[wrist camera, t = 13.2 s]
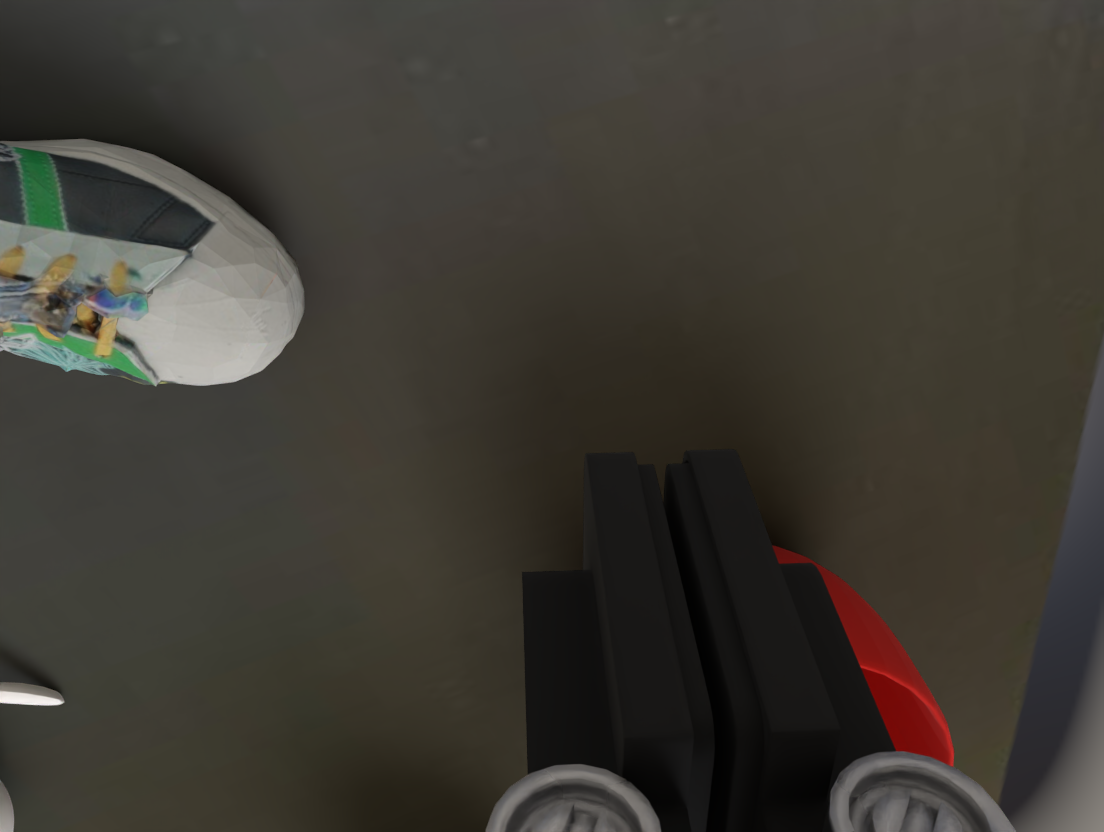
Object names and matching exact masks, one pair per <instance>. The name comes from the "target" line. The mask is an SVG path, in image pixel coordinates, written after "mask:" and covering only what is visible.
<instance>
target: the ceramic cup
mask: <svg viewBox="0 0 1104 832" xmlns="http://www.w3.org/2000/svg"><path fill="white" fill-rule="evenodd" d="M772 546H773V545H772ZM773 549H774V552H775V554H776V557H777V560H778V562H779V564H783V563H812V564H814V565H815V566H817V568H818V570H819V572H820V573H821V575H822V577H823V580H824V582H825V584H826V587H827V589H828V591H829V594H830V596H831V598H832V601H833V603H834V606H835V608H836V610H837V613H838V615H839V617H840V620H841V622H842V624H843V627H844V629H845V631H846V634H847V636H848V638H849V641H850V643H851V646H852V648H853V650H854V653H855V655H856V657H857V660H858V662H859V664H860V667H861V669H862V671H863V674H864V676H865V679H866V681H867V683H868V686H869V688H870V690H871V693H872V695H873V697H874V700H875V702H876V704H877V707H878V709H879V712H880V714H881V716H882V719H883V721H884V723H885V726H886V728H887V730H888V733H889V735H890V737H891V740H892V742H893V745H894V747H895V749H896V752H897V751H904V752H909V753H914V754H919V755H924V756H929V757H932V758H934V759H936V760H939V761H941V762H943V763H945V764H948V765H950V766H952V767H953V761H954V749H953V745H952V741H951V737H950V733H949V729H948V725H947V722H946V719H945V717H944V715H943V713H942V711H941V709H940V707H939V706H938V704H937V702H936V700H935V699H934V697H933V695H932V694H931V692H930V690H929V689H928V687H927V685H926V684H925V682H924V680H923V679H922V677H921V675H920V674H919V672H918V671H917V669H916V667H915V666H914V664H913V662H912V661H911V659H910V658H909V656H908V655H907V653H906V651H905V650H904V648H903V647H902V645H901V644H900V643H899V641H898V640H897V638H896V637H895V635H894V634H893V633H892V631H891V630H890V629H889V627H888V626H887V625H886V623H885V622H884V621H883V620H882V618H881V617H880V616H879V615H878V614H877V613H876V612H875V610H874V609H873V608H872V607H871V606H870V605H869V604H868V603H867V602H866V601H865V600H864V599H863V598H862V597H861V596H859V595H858V594H857V593H856V592H855V591H854V590H853V589H852V588H851V587H850V586H849V585H848V584H847V583H846V582H845V581H843V580H842V579H841V578H839V577H838V576H837V575H835V574H834V573H832V572H830V571H829V570H827V569H825V568H824V567H822V566H820V565H819V564H817V563H815V562H814V561H812V560H810V559H809V558H807V557H805V556H802V555H800V554H797V553H794V552H792V551H789V550H786V549H783V548H780V547H777V546H773Z"/></svg>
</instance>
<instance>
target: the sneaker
mask: <svg viewBox="0 0 1104 832" xmlns="http://www.w3.org/2000/svg"><path fill="white" fill-rule="evenodd" d="M304 311H305V304H304V288H303V284H302V281H301V277H300V274H299V271H298V267H297V264H296V261H295V259H294V258H293V257H292V256H291V255H290V253H289V252H288V251H287V250H286V248H285V247H284V246H283V245H282V244H281V242H280V241H279V240H278V239H277V238H276V236H275V235H274V234H273V233H272V232H271V231H270V230H269V229H267V228H266V227H265V226H264V225H263V224H261V223H260V222H259V221H258V220H257V219H255V218H254V217H253V216H252V215H251V214H249V213H248V212H247V211H246V210H245V209H243V208H242V207H241V206H240V205H238V204H237V203H236V202H235V201H234V200H232V199H231V198H230V197H228V196H227V195H225V194H224V193H222V192H220V191H219V190H217V189H215V188H214V187H212V186H210V185H209V184H207V183H205V182H204V181H202V180H200V179H199V178H197V177H195V176H194V175H192V174H191V173H189V172H187V171H185V170H183V169H181V168H179V167H177V166H175V165H173V164H171V163H169V162H167V161H165V160H163V159H161V158H159V157H157V156H155V155H153V154H150V153H146V152H143V151H139V150H136V149H133V148H129V147H124V146H118V145H113V144H108V143H103V142H98V141H92V140H87V139H67V140H40V141H0V351H2V350H6V351H9V352H11V353H13V354H16V355H20V356H23V357H27V358H31V359H35V360H39V361H43V362H46V363H50V364H54V365H58V366H60V367H61V368H62V369H64V370H65V371H66V372H67V371H70V370H73V369H78V370H81V371H85V372H89V373H93V374H97V375H114V376H118V377H123V378H127V379H129V380H131V381H134V382H137V383H141V384H144V385H154V386H156V385H157V384H165V383H178V384H188V385H198V386H205V385H213V384H221V383H230V382H236V381H238V380H240V379H243V378H245V377H248V376H250V375H253V374H255V373H257V372H260V371H262V370H263V369H264V368H265V367H266V366H267V365H268V364H269V363H270V362H272V361H273V360H274V359H275V358H276V357H277V356H278V355H279V354H280V353H281V352H282V350H283V348H284V347H285V345H286V344H287V343H288V342H289V341H290V340H291V339H292V338H293V337H294V335H295V332H296V330H297V328H298V325H299V323H300V321H301V318H302V316H303V314H304Z"/></svg>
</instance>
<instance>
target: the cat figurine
mask: <svg viewBox="0 0 1104 832" xmlns="http://www.w3.org/2000/svg"><path fill="white" fill-rule="evenodd" d="M0 703H11V704H28V705H60V704H62V703H64V699H63V697H62V696H61V694H60V693H59V692H57V691H55V690H52V689H49V688H46V687H43V686H37V685H31V684H26V683H14V682H0ZM13 830H14V812H13V806H12V801H11V799H10V796H9V793H8V791H7V789H6V787H5V786H4V784H3V783H2V781H1V780H0V832H13Z"/></svg>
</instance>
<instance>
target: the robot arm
mask: <svg viewBox="0 0 1104 832" xmlns="http://www.w3.org/2000/svg"><path fill="white" fill-rule="evenodd" d="M522 581H523V616H524V652H525V688H526V724H527V760H528V775H527V776H526V777H524V778H523V779H521V780H520V781H518V782H517V783H515V784H514V785H512V786H511V787H510V788H509V789H508V790H507V791H506V793H505V794H504V795H503V796H502V797H501V799H500V800H499V801H498V802H497V804H496V805H495V806H494V809H493V812H492V814H491V817H490V820H489V822H488V825H487V828H486V832H1016V831H1015V829H1014V828H1013V827H1012V825H1011V823H1010V822H1009V821H1008V819H1007V818H1006V816H1005V815H1004V813H1003V812H1002V810H1001V809H1000V807H999V806H998V805H997V804H996V803H995V802H994V800H993V799H992V798H991V797H990V796H989V795H988V794H987V792H986V791H985V790H984V789H983V788H982V787H981V786H980V785H979V784H978V783H976V782H975V781H973V780H972V779H971V778H969V777H968V776H966V775H965V774H964V773H962V772H961V771H959V770H958V769H957V768H954V767H952V766H950V765H948V764H945V763H943V762H941V761H939V760H936V759H934V758H932V757H929V756H924V755H919V754H914V753H909V752H904V751H897V752H896V749H895V747H894V745H893V742H892V740H891V737H890V735H889V733H888V730H887V728H886V726H885V723H884V721H883V719H882V716H881V714H880V712H879V709H878V707H877V704H876V702H875V700H874V697H873V695H872V693H871V690H870V688H869V686H868V683H867V681H866V679H865V676H864V674H863V671H862V669H861V667H860V664H859V662H858V660H857V657H856V655H855V653H854V650H853V648H852V646H851V643H850V641H849V638H848V636H847V634H846V631H845V629H844V627H843V624H842V622H841V620H840V617H839V615H838V613H837V610H836V608H835V606H834V603H833V601H832V598H831V596H830V594H829V591H828V589H827V587H826V584H825V582H824V580H823V577H822V575H821V573H820V572H819V570H818V568H817V566H815V565H814V564H812V563H783V564H779V562H778V560H777V557H776V554H775V552H774V549H773V546H772V544H771V541H770V538H769V536H768V533H767V530H766V528H765V525H764V522H763V520H762V517H761V514H760V511H759V509H758V506H757V503H756V501H755V498H754V495H753V493H752V490H751V487H750V485H749V482H748V479H747V477H746V474H745V471H744V469H743V466H742V463H741V461H740V458H739V455H738V453H737V452H736V450H734V449H724V450H690V451H686V452H685V453H684V457H683V463H682V464H668V465H667V467H666V473H665V486H664V502H663V501H662V497H661V493H660V488H659V484H658V480H657V476H656V472H655V468H654V465H653V464H650V465H637V461H636V457H635V454H634V453H633V452H622V453H589V454H585V461H584V524H583V570H573V571H544V572H522Z"/></svg>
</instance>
